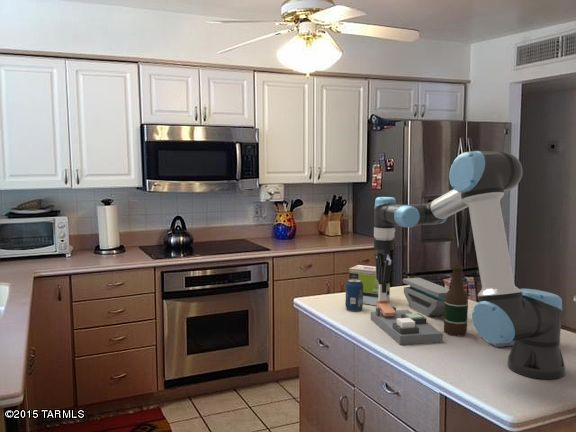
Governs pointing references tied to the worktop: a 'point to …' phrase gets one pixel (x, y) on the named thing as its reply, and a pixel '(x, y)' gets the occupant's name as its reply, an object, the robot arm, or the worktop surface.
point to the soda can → (354, 295)
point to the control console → (406, 335)
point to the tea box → (368, 283)
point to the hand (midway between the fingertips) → (382, 300)
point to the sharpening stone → (425, 296)
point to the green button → (413, 316)
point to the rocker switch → (386, 308)
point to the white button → (405, 323)
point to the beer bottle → (456, 305)
